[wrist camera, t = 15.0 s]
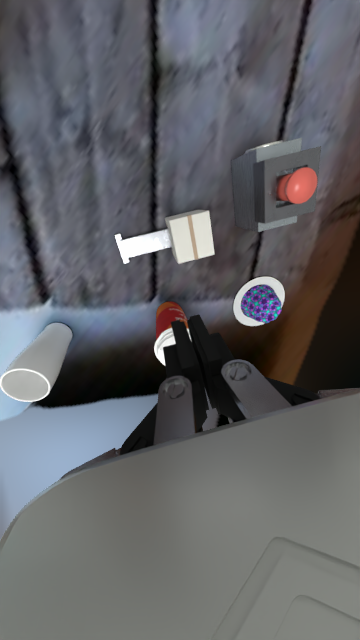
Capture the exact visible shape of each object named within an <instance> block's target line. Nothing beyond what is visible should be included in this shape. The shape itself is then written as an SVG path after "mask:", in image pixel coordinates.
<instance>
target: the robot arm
mask: <svg viewBox="0 0 360 640" xmlns="http://www.w3.org/2000/svg"><path fill="white" fill-rule="evenodd" d="M187 324H188V328H189V333H190V337H191V339H190V337H189V334H188V331H187V328H186V325H185V323H184V321H182V322H180V320H176V321H172V322H171V326H172V330H173V334H174V339H175V343H176V344H173V345H169V346H165V347H163V352H164V359H165V366H166V373H167V379H166V380H165V381H164V382H163V383H162V384H161V386H160V388H159V395H158V403H157V404H156V405H155V406H154V408H153V409H152V410H151V411H150V412H149V413H148V414H147V416H146V417H145V418H144V419H143V421H142V422H141V423H140V424H139V425H138V426H137V428H136V429H135V430H134V431H133V432H132V433H131V435H130V436H129V437H128V438H127V439H126V441H125V442H124V444H123V445H122V447H121V448H120V449H118V450H116V449H115V448H114V449H112V450H110V451H108V452H106V453H104V454H102V455H100V456H98V457H96V458H94V459H92V460H90V461H88V462H86V463H84V464H83V465H81V466H79V467H77V468H75V469H73V470H71V471H69V472H68V473H66V474H65V475H64V476H63V477H62V478H61V479H60V480H58V481H57V482H55V483H54V484H52V485H51V486H49V487H48V488H46V489H45V490H43V491H42V492H41V493H39V494H38V495H37V496H36V497H34V498H33V499H32V500H31V501H30V502H29V503H28V504H26V505H25V506H24V507H23V508H22V509H21V511H20V512H19V513H18V514H17V515H16V516H15V518H14V519H13V521H12V522H11V523H10V525H9V527H8V528H7V530H6V531H5V533H4V535H3V536H2V538H1V540H0V640H360V388H353V389H339V390H324V391H319V394H314V393H313V392H311V391H309V390H306V389H303V388H300V387H297V386H293V385H290V384H287V383H283V382H280V381H277V380H273V379H270V378H267V377H264V376H263V375H262V374H261V373H260V372H259V371H258V370H257V369H256V368H255V367H254V366H253V365H252V364H251V363H249V362H247V361H245V360H235V359H234V357H233V355H232V354H231V352H230V350H229V349H228V347H227V345H226V344H225V342H224V340H223V339H222V337H221V335H220V334H219V333H214V334H211V335H209V333H208V331H207V329H206V327H205V325H204V323H203V321H202V319H201V317H200V315H195V316H191V317H190V320H187ZM203 383H204V384H203ZM204 386H205V388H204ZM205 389H206V392H207V395H208V397H209V401H210V404H211V406H212V408H216V409H217V411H218V414H223V415H225V416H227V417H228V419H229V422H230V424H227V425H224V426H220V427H217V428H213V429H210V430H206V431H203V429H202V425H203V423H204V422H205V420H206V418H207V414H206V410H209V407H208V402H207V398H206V393H205Z"/></svg>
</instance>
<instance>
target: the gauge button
mask: <svg viewBox="0 0 360 640" xmlns="http://www.w3.org/2000/svg"><path fill="white" fill-rule="evenodd" d="M316 186H317V175H316V173H315V171H314V170H313V169H311V168H308V167H306V168H300V169H298V170H296V171H294V172H293V173H291V174H285V175H281V176H278V177H277V178H276V201H289V202H291V203H294V204H300V203H304V202H306V201H307V200H308V199H309V198H310V197H311V196H312V195H313V193H314V191H315V189H316Z"/></svg>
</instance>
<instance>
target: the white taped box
mask: <svg viewBox="0 0 360 640" xmlns="http://www.w3.org/2000/svg"><path fill="white" fill-rule="evenodd" d="M165 221H166V225H167V226H168V231H169V235H170V240H171V244H172V252H173V255H174V257H175V259H176V260H177V262H178V264H179V263H183V262H187V261H191V260H197V259H199V258H203V257H207V256H211V255H215V254H214V246H213V238H212V230H211V223H210V215H209V211H206V210H194V211H190V212H186V213H182V214H178V215H174V216H170V217H166V218H165Z"/></svg>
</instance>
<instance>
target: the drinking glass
mask: <svg viewBox="0 0 360 640" xmlns="http://www.w3.org/2000/svg"><path fill="white" fill-rule="evenodd" d="M71 340H72V331H71V329H70V328H69V327H68V326H66V325H64V324H62V323H51V324H49V325H48V326H46V327H45V329H44V330H43V331H42V332H41V333H40V334H39V335H38V336H37V337H36V338H35V339H34V340H33V341H32V342H31V343H30V344H29V345H28V346H27V347H26V348H25V349H24V350H23V351H22V352H21V353H20V354H19V355H18V356H17V357H16V358H15V359H14V360H13V362H12V363H11V364H10V365H9V367H8V368H7V369H6V371H5V372H4V374H3V375H2V376H1V378H0V387H1V389H2V391H3V392H4V393H5V394H6V395H8V396H9V397H11V398H13V399H16V400H19V401H25V402H32V401H38V400H41V399H43V398H44V397H46V396H47V395H48V394H49V392H50V390H51V388H52V387H53V385H54V383H55V381H56V379H57V377H58V375H59V372H60V369H61V367H62V364H63V361H64V358H65V355H66V352H67V349H68V346H69V344H70V342H71Z"/></svg>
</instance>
